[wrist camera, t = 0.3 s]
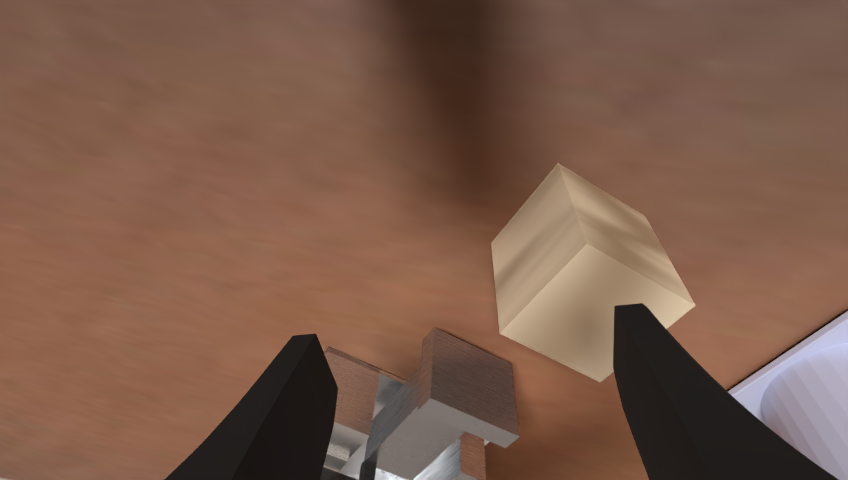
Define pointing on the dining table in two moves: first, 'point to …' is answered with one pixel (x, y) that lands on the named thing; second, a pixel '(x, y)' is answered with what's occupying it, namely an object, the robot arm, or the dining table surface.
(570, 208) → the block
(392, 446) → the grey l-shaped piece
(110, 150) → the dining table surface
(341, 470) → the gauge housing
